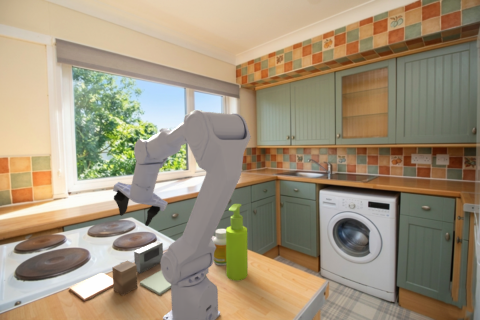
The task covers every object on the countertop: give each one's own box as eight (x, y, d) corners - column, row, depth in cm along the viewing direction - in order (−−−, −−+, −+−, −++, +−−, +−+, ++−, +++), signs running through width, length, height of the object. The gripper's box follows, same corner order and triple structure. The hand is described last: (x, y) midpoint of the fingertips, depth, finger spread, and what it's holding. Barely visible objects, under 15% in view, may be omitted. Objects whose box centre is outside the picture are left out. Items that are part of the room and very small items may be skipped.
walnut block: (137, 287, 61) (136, 264, 61) (122, 295, 58) (121, 272, 57) (128, 282, 64) (127, 260, 63) (113, 290, 60) (112, 267, 60)
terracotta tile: (118, 283, 63) (117, 281, 63) (84, 301, 56) (84, 298, 56) (102, 274, 67) (101, 272, 67) (69, 289, 60) (69, 287, 60)
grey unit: (163, 261, 74) (163, 242, 73) (140, 273, 67) (139, 253, 67) (157, 259, 75) (156, 240, 75) (134, 270, 69) (133, 250, 68)
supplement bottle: (228, 266, 71) (228, 235, 70) (211, 264, 72) (210, 233, 71) (232, 257, 76) (232, 228, 75) (216, 256, 77) (216, 227, 76)
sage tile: (184, 278, 65) (184, 276, 65) (159, 295, 58) (159, 292, 58) (164, 270, 69) (164, 268, 69) (139, 284, 62) (139, 282, 62)
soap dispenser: (221, 280, 64) (221, 207, 62) (230, 267, 70) (230, 200, 69) (243, 284, 62) (242, 209, 60) (249, 270, 69) (249, 202, 67)
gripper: (176, 184, 66) (165, 219, 72) (127, 163, 66) (120, 200, 72) (165, 198, 60) (154, 235, 66) (111, 175, 59) (104, 215, 65)
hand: (135, 218), depth 68 cm, fingers open, 7 cm apart
